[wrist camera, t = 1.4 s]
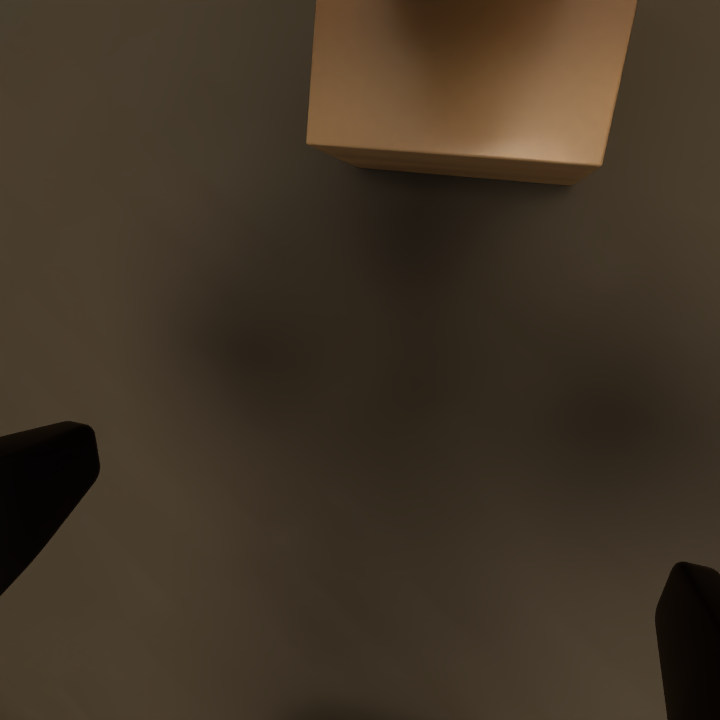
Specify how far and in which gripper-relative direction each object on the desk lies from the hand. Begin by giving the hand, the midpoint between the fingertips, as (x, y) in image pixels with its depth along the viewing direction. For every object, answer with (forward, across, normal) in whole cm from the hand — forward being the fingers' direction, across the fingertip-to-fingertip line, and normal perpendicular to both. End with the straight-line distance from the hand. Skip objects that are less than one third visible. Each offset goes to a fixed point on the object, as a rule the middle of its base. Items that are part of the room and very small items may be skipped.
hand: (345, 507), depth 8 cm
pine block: (+12, 0, -7) cm, 14 cm away
